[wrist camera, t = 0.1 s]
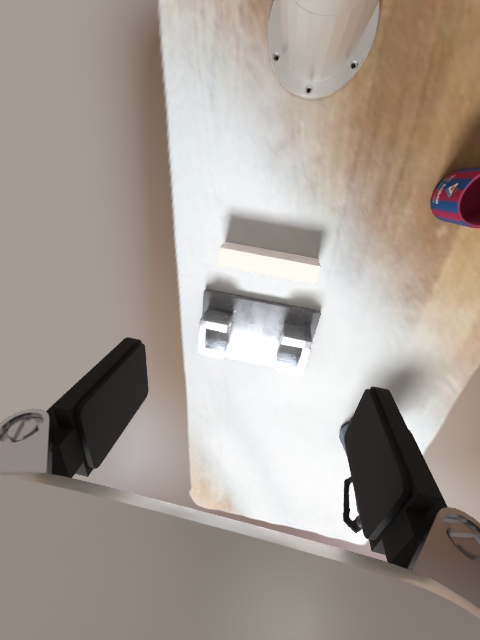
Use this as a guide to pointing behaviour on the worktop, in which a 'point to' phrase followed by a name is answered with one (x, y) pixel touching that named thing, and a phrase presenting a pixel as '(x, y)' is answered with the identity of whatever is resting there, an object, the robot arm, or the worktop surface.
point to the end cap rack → (256, 331)
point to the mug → (458, 198)
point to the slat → (269, 262)
